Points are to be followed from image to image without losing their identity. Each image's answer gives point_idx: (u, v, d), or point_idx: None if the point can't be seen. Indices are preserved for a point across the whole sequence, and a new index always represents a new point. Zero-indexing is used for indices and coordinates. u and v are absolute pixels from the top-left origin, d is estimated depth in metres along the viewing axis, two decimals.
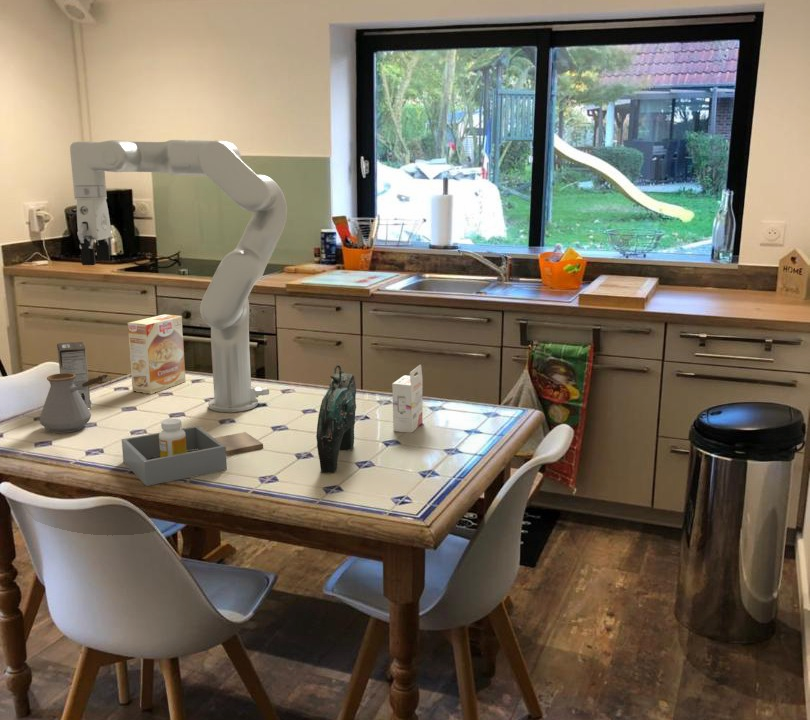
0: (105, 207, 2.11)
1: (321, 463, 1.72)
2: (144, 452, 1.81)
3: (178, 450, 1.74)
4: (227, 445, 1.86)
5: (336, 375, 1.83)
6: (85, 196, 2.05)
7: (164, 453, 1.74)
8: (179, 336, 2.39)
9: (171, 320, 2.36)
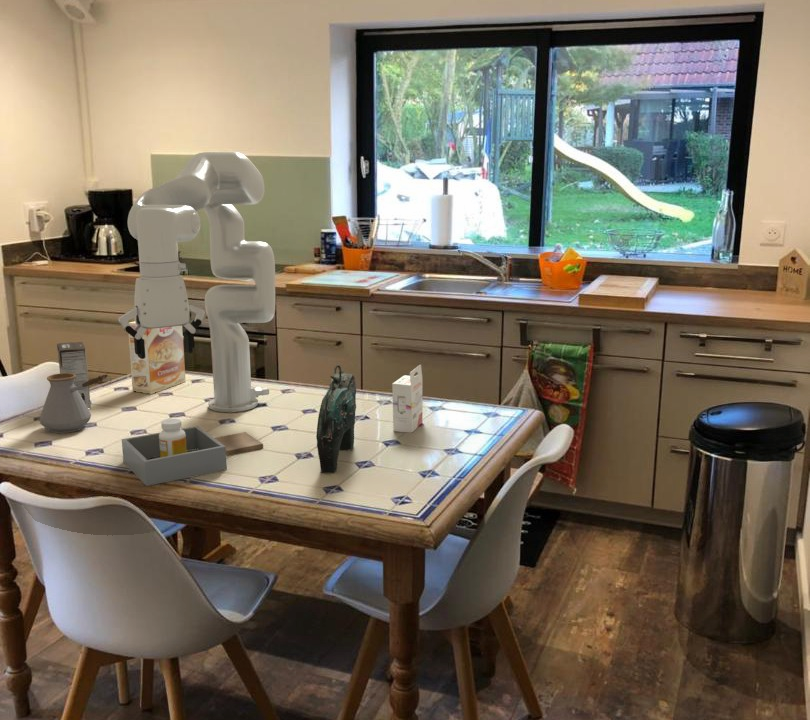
0: None
1: (321, 463, 1.72)
2: (144, 452, 1.81)
3: (178, 450, 1.74)
4: (227, 445, 1.86)
5: (336, 375, 1.83)
6: None
7: (164, 453, 1.74)
8: (179, 336, 2.39)
9: None
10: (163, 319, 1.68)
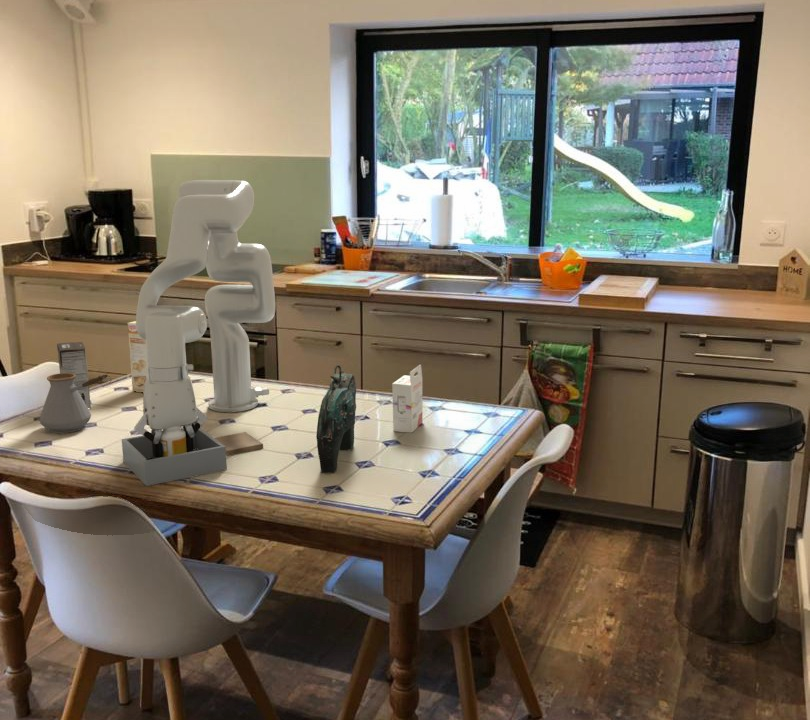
0: None
1: (321, 463, 1.72)
2: (144, 452, 1.81)
3: (178, 450, 1.74)
4: (227, 445, 1.86)
5: (336, 375, 1.83)
6: None
7: (164, 453, 1.74)
8: None
9: None
10: (171, 420, 1.72)
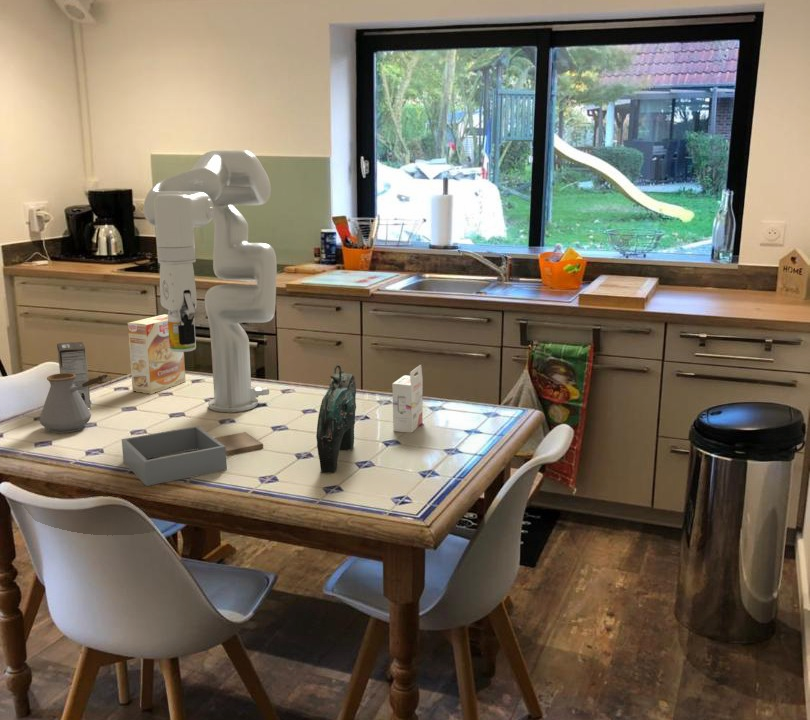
0: (167, 274, 1.72)
1: (321, 463, 1.72)
2: (144, 452, 1.81)
3: None
4: (227, 445, 1.86)
5: (336, 375, 1.83)
6: None
7: None
8: None
9: None
10: None
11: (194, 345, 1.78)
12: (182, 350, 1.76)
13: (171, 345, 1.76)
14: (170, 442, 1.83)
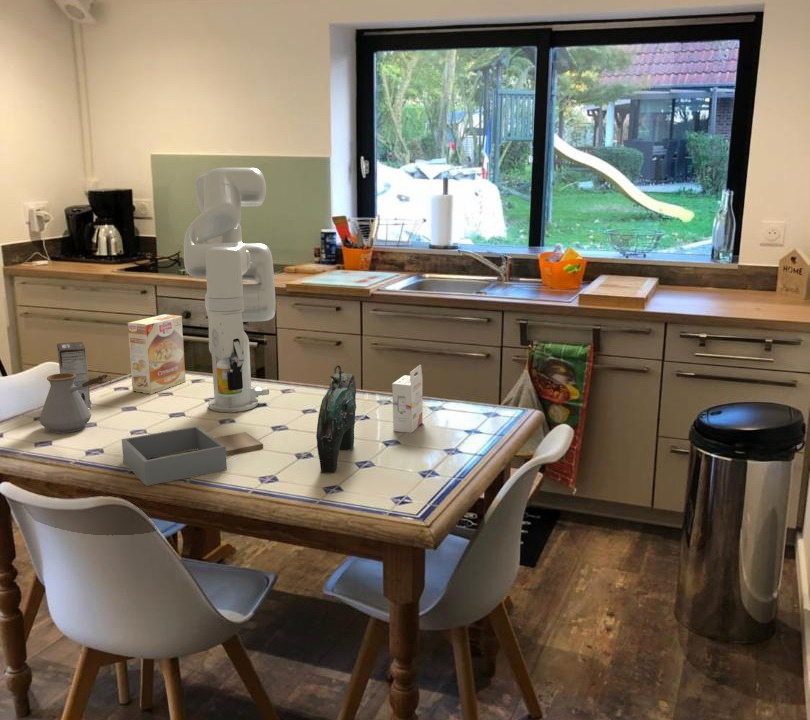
0: (217, 323, 1.79)
1: (321, 463, 1.72)
2: (144, 452, 1.81)
3: None
4: (227, 445, 1.86)
5: (336, 375, 1.83)
6: None
7: None
8: (179, 336, 2.39)
9: (171, 320, 2.36)
10: None
11: (241, 390, 1.85)
12: (230, 395, 1.83)
13: (220, 390, 1.84)
14: (170, 442, 1.83)
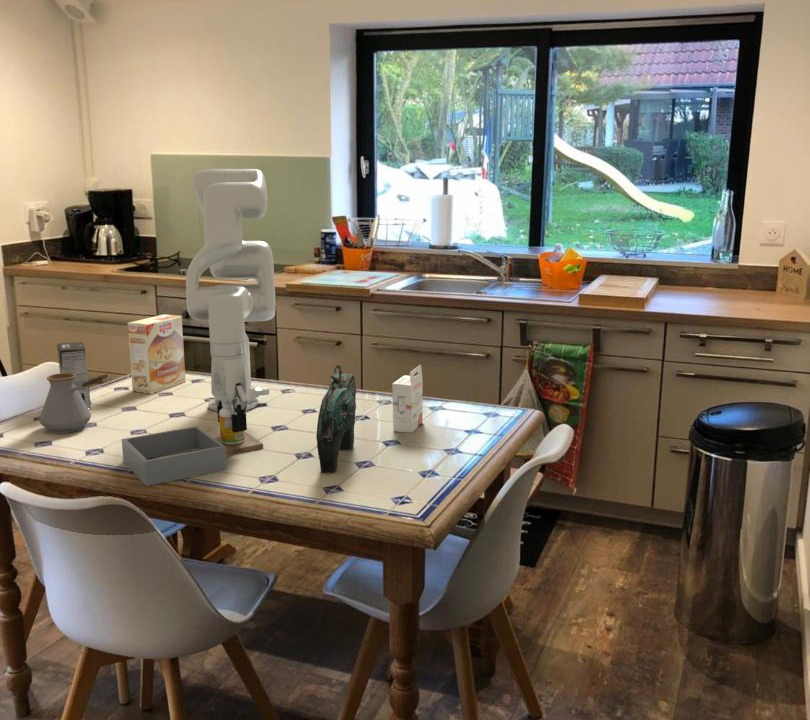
0: (220, 368, 1.82)
1: (321, 463, 1.72)
2: (144, 452, 1.81)
3: None
4: (227, 445, 1.86)
5: (336, 375, 1.83)
6: None
7: None
8: (179, 336, 2.39)
9: (171, 320, 2.36)
10: None
11: (244, 437, 1.88)
12: (233, 443, 1.86)
13: (222, 438, 1.87)
14: (170, 442, 1.83)
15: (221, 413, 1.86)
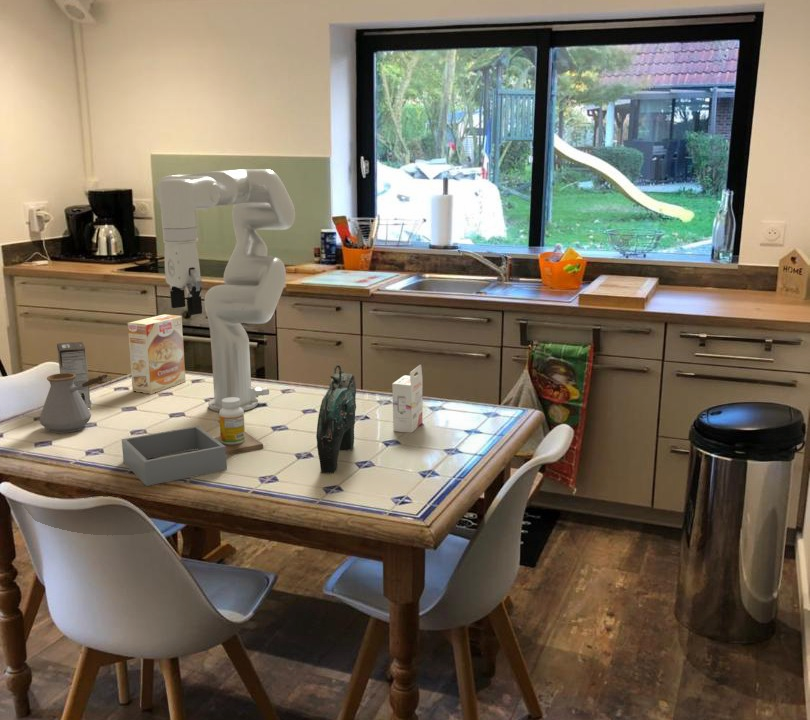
0: (173, 253, 1.86)
1: (321, 463, 1.72)
2: (144, 452, 1.81)
3: None
4: (227, 445, 1.86)
5: (336, 375, 1.83)
6: None
7: (242, 427, 1.87)
8: (179, 336, 2.39)
9: (171, 320, 2.36)
10: None
11: (244, 437, 1.88)
12: (233, 443, 1.86)
13: (222, 438, 1.87)
14: (170, 442, 1.83)
15: (221, 413, 1.86)
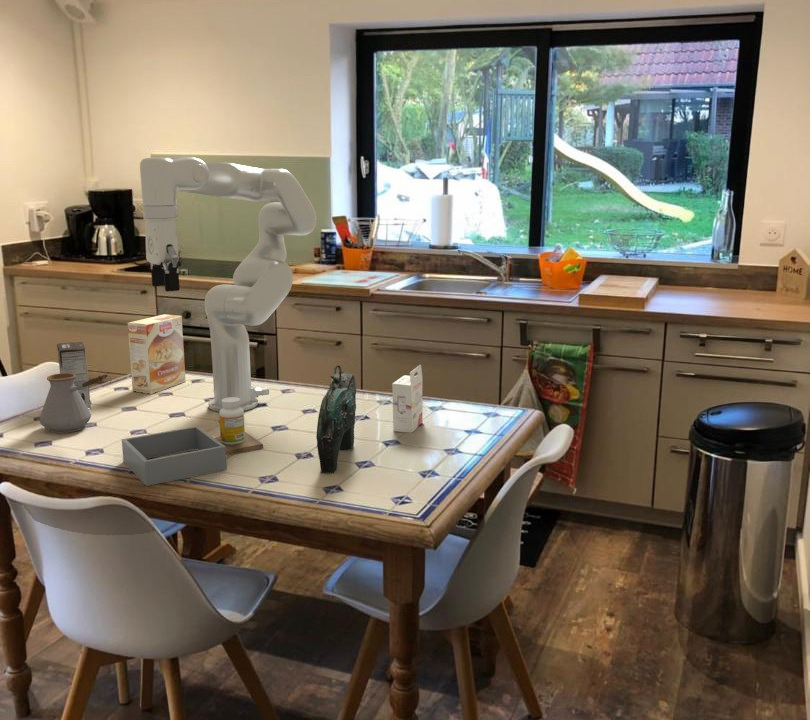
0: (152, 230, 1.90)
1: (321, 463, 1.72)
2: (144, 452, 1.81)
3: None
4: (227, 445, 1.86)
5: (336, 375, 1.83)
6: None
7: (242, 427, 1.87)
8: (179, 336, 2.39)
9: (171, 320, 2.36)
10: None
11: (244, 437, 1.88)
12: (233, 443, 1.86)
13: (222, 438, 1.87)
14: (170, 442, 1.83)
15: (221, 413, 1.86)
